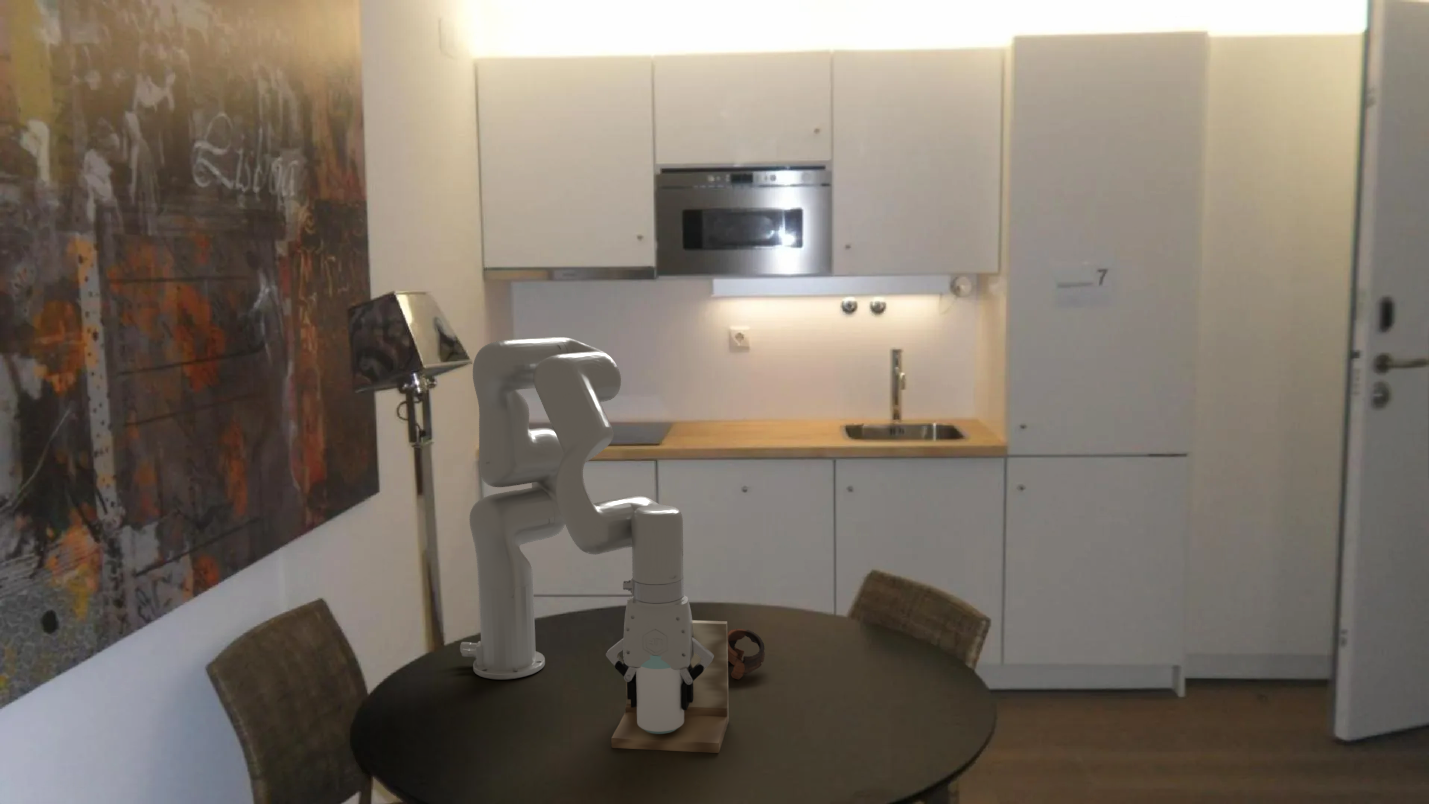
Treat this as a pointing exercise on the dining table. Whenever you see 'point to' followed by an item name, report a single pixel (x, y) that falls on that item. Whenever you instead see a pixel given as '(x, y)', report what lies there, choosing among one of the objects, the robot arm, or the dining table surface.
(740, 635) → the vr controller
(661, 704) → the can
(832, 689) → the dining table surface
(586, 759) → the dining table surface
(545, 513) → the robot arm
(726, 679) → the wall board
